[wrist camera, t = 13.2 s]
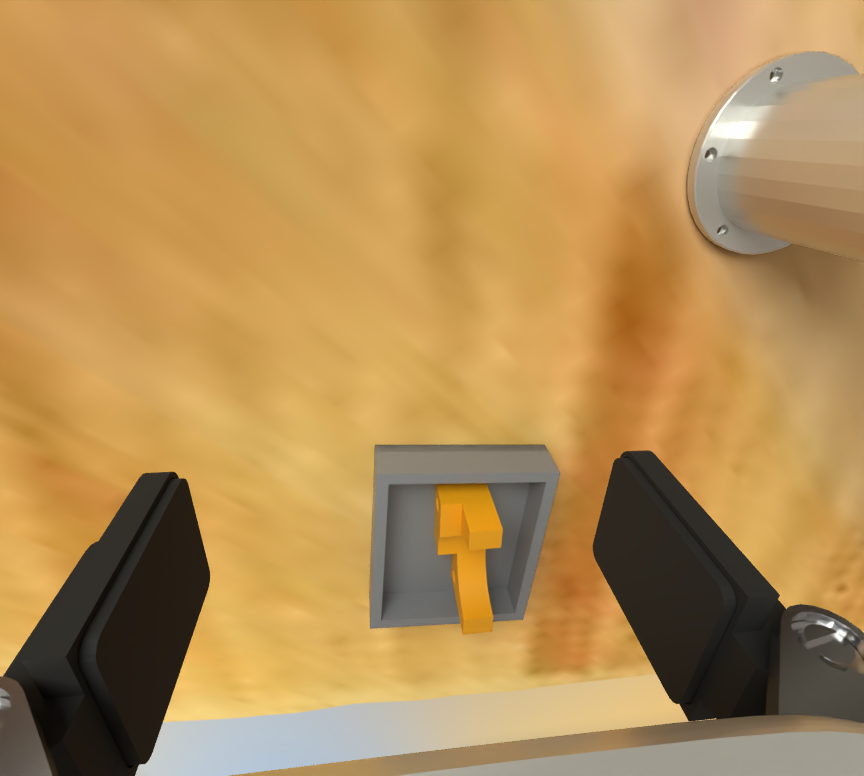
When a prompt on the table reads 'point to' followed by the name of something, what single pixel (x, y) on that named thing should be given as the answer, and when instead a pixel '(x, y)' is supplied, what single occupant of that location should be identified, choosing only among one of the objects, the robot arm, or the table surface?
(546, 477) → the tray
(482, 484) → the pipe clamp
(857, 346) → the table surface
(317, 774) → the robot arm
